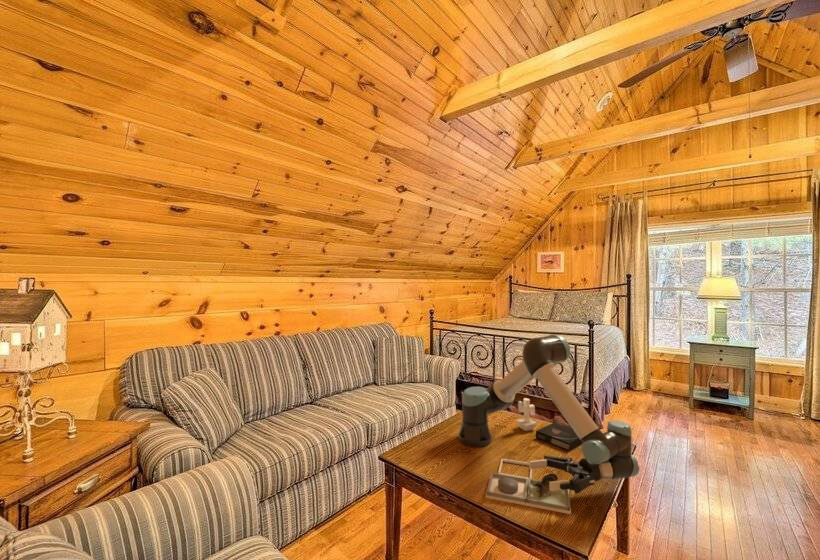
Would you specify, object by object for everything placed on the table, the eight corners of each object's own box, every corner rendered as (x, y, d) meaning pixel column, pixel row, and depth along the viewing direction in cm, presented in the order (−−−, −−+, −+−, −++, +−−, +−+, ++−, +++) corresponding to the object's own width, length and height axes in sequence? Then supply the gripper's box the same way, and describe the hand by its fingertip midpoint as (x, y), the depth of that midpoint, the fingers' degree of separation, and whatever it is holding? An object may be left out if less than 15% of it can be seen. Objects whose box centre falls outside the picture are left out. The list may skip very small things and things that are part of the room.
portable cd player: (535, 439, 179) (535, 431, 178) (555, 429, 189) (555, 421, 189) (568, 452, 166) (568, 443, 165) (588, 441, 176) (588, 432, 176)
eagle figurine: (556, 500, 127) (563, 483, 134) (544, 481, 128) (550, 465, 135) (538, 504, 131) (545, 487, 139) (525, 486, 133) (533, 470, 140)
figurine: (539, 429, 188) (539, 399, 187) (524, 433, 184) (524, 402, 184) (528, 424, 194) (528, 395, 194) (514, 427, 191) (514, 398, 190)
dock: (485, 497, 133) (485, 489, 133) (490, 477, 145) (490, 470, 145) (570, 514, 124) (570, 505, 124) (568, 491, 136) (568, 483, 136)
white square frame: (497, 475, 147) (497, 473, 147) (501, 460, 158) (501, 458, 158) (531, 481, 143) (531, 479, 143) (532, 465, 154) (532, 463, 154)
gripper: (619, 500, 123) (559, 508, 119) (573, 461, 148) (522, 467, 144) (620, 477, 123) (559, 484, 119) (573, 442, 147) (522, 447, 144)
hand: (539, 475), depth 131 cm, fingers open, 13 cm apart
